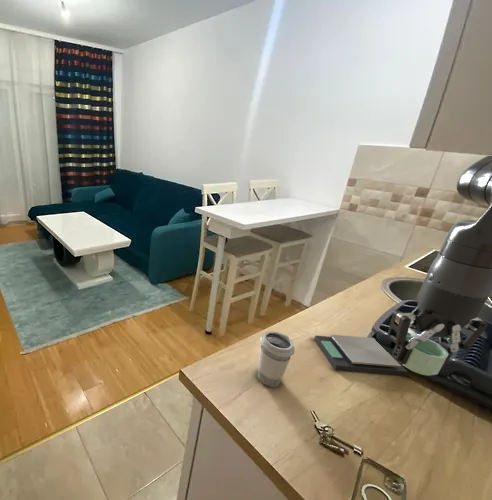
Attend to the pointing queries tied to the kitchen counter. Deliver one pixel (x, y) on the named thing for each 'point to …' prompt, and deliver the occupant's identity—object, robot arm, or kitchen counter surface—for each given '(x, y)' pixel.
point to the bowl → (426, 358)
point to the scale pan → (364, 351)
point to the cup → (274, 357)
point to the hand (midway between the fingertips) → (417, 362)
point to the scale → (343, 364)
